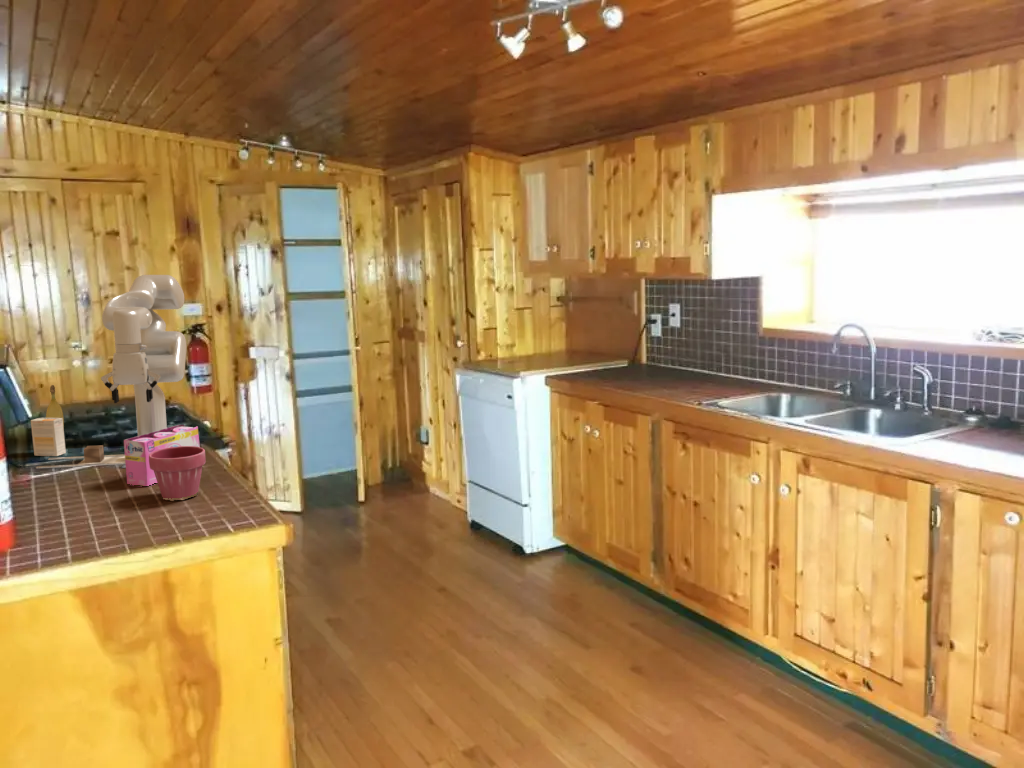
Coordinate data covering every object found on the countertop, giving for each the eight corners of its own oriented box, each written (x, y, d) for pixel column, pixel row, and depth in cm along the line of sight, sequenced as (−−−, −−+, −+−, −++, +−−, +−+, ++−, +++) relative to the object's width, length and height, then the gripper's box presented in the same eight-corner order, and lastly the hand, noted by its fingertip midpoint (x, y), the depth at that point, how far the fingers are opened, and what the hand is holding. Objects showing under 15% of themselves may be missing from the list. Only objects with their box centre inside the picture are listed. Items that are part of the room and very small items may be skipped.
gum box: (185, 465, 253) (182, 423, 251) (205, 467, 250) (202, 425, 248) (126, 485, 231) (122, 439, 228) (147, 487, 228) (144, 441, 226)
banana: (58, 451, 270) (53, 393, 266) (39, 453, 267) (33, 394, 264) (67, 437, 290) (62, 383, 287) (48, 439, 288) (43, 384, 285)
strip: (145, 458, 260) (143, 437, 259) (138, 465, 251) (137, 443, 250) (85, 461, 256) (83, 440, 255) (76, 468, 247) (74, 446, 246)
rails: (149, 457, 262) (149, 453, 261) (140, 466, 250) (140, 462, 250) (49, 462, 255) (49, 457, 255) (36, 472, 244) (35, 467, 243)
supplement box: (66, 456, 263) (63, 417, 261) (57, 459, 259) (53, 420, 257) (43, 455, 264) (40, 417, 262) (33, 459, 260) (30, 419, 257)
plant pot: (147, 506, 211) (144, 459, 209) (156, 491, 224) (153, 447, 222) (204, 502, 214) (202, 456, 212) (209, 487, 228) (207, 444, 226)
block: (104, 458, 255) (103, 445, 254) (100, 462, 251) (99, 448, 250) (88, 459, 254) (87, 445, 253) (84, 463, 250) (83, 449, 249)
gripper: (160, 346, 255) (164, 398, 258) (102, 347, 251) (106, 400, 254) (155, 349, 248) (159, 403, 251) (95, 351, 244) (100, 405, 247)
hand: (132, 401), depth 253 cm, fingers open, 9 cm apart
